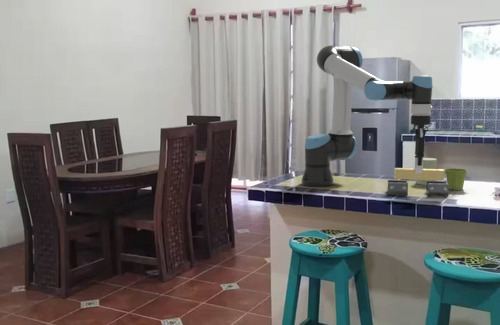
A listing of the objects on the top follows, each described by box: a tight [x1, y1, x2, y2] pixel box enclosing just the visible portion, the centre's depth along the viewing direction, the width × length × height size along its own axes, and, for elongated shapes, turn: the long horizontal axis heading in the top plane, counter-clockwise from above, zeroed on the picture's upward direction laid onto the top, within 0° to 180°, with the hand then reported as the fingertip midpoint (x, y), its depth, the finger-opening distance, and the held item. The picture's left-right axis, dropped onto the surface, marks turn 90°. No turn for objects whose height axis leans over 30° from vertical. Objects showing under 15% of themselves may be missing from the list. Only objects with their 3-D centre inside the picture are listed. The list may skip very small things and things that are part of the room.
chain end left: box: [387, 179, 409, 196], centre depth 217 cm, size 8×8×5 cm
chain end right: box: [425, 180, 450, 197], centre depth 213 cm, size 8×8×5 cm
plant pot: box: [443, 167, 468, 191], centre depth 224 cm, size 9×9×9 cm
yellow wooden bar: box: [393, 167, 445, 181], centre depth 207 cm, size 19×4×4 cm, turn 76°
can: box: [415, 157, 438, 185], centre depth 240 cm, size 9×9×12 cm
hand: (418, 172), depth 207 cm, fingers closed on yellow wooden bar, 3 cm apart
